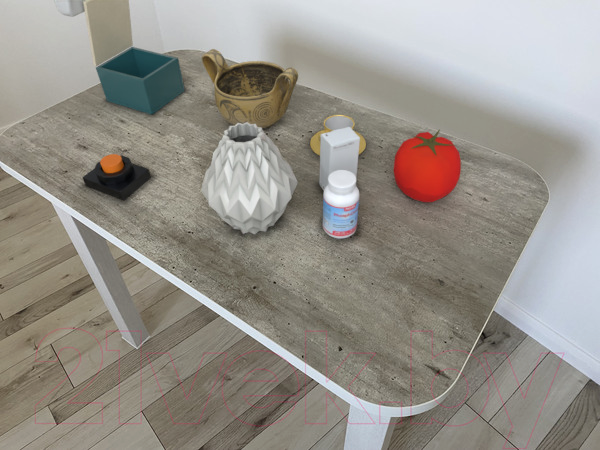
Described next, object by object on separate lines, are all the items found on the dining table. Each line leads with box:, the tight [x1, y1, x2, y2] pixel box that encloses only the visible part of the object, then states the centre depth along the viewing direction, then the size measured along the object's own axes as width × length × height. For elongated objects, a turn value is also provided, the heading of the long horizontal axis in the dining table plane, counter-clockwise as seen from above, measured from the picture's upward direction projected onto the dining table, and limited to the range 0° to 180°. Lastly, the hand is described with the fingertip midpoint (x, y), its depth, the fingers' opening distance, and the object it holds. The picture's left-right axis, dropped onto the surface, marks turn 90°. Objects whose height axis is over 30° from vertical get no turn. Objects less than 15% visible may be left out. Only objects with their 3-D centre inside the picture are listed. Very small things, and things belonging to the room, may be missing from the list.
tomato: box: [393, 129, 462, 203], centre depth 88 cm, size 12×13×12 cm
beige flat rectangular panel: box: [83, 0, 134, 67], centre depth 111 cm, size 15×13×1 cm
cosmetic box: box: [318, 127, 360, 191], centre depth 90 cm, size 6×4×12 cm
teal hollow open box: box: [95, 46, 186, 115], centre depth 118 cm, size 15×13×9 cm
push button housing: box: [81, 154, 152, 202], centre depth 95 cm, size 10×8×4 cm
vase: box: [200, 122, 299, 235], centre depth 82 cm, size 16×16×18 cm
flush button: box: [99, 153, 124, 173], centre depth 94 cm, size 4×4×2 cm
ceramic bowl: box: [201, 48, 299, 130], centre depth 106 cm, size 22×17×15 cm
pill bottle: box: [322, 170, 360, 239], centre depth 82 cm, size 6×6×11 cm
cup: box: [309, 114, 367, 157], centre depth 102 cm, size 12×12×5 cm
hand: (106, 22), depth 111 cm, fingers closed, pressing on beige flat rectangular panel
